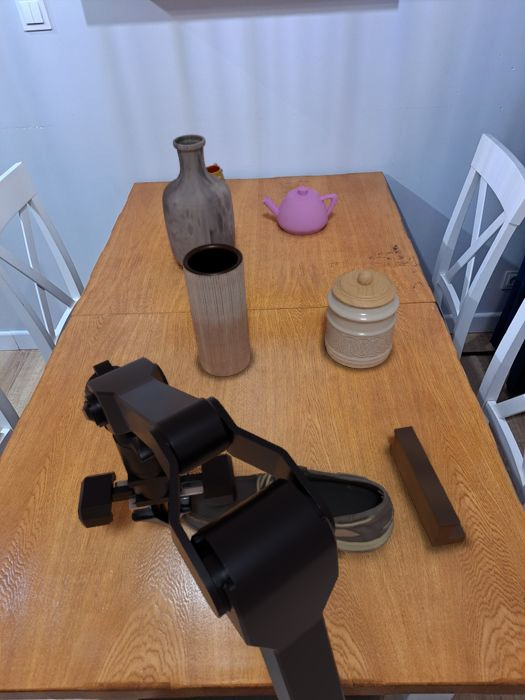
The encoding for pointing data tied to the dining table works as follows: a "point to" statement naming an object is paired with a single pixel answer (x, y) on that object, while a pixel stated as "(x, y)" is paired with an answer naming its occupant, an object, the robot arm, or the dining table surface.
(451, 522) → the dark walnut bar
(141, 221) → the dining table surface
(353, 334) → the jar
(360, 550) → the boat shoe
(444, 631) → the dining table surface
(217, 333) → the planter
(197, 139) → the vase
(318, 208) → the teapot
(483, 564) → the dining table surface
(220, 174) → the mug
